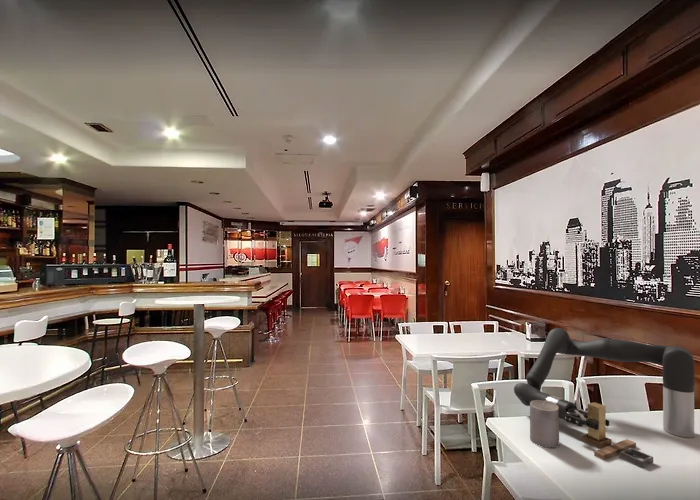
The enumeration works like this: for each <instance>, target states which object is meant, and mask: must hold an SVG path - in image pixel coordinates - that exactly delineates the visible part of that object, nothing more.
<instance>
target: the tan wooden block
mask: <svg viewBox="0 0 700 500" xmlns="http://www.w3.org/2000/svg"><path fill="white" fill-rule="evenodd" d="M587 408H588V420H590V421H593V422H595V423H598V424H599V429H598V430H596V429H593V428H591V427H588V426H587V433H588V437H589V438H591V439H593V440H596V441H598V442H602V441H605V440H606V437H607V436H606V435H607V434H606V431H607V430H606V429H607V428H606V427H607V426H606V419H607V418H606V415H607V414H606V405H604V404H601V403H598V402H595V401H594V402H590V403H588V404H587Z"/></svg>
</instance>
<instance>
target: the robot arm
mask: <svg viewBox="0 0 700 500" xmlns="http://www.w3.org/2000/svg"><path fill="white" fill-rule="evenodd" d="M557 354H559V355H567V356H583V357H584V356H585V357H588V358H596V359H603V360H607V361H615V362H622V363H653V364H658V365H662V400H663V401H662V413H663V414H662V422H663V423H662V425H663V427H662V429H663V430H664V431H665V432H667V433H669V434H671V435H674V436H678V437H682V438H687V439H690V438H694V437H695V361H694V355H693V354H692V352H691V351H689V350H688V349H687V348H685V347H682V346H677V345H676V346H675V345H657V344H656V345H655V344H647V343H646V344H645V343H640V342H635V341H630V340H622V339H616V338H608V337H602V338H597V339H596V338H595V339H592V340H587V341H586V340H585V341H584V340H575V339H571V337H570V334H569V333H568V332H567V330H565V329H564V328H560V327H556V328H553V329H551V330H550V331H549V332H548V334H547V336H546V338H545V341H544V343H543V346H542V347H541V350H540V353H539V355H538V356H537V358H536V360H535V362H534V363H533V365H532V367H531V368H530V370H529V371H528V372H527V374H526V375H525V376H526V377H525V380H526V382H519V383H516V384H515V386H514V387H513V392H514V394H515V397H517V399H518V400H519V401H520V403H521V404H523V405H524V406H526V407H530V402H531V401H533V400H543V401H548V402H551V403H554V404H556V405H557V406H558V407H559V419H561V420H562V421H563V420H564V421H565V422H567V423H570V424H572V425H575V426H578V427H587V428H588V427H591V428H593V429H596V430H598V429H599V424H598V423H595V422H593V421H590V420H588V407H587V408H586V407H585V410H584V409H582V408H578V407H577V406H576V404H575V403H573V402H572V401H569V400H567V399H564V398H561V397H558V396H554V395H552V394H548V393H545V392H543V391H541V389H542V386H543V384H544V383H545V381H546V379H547V377H548V376H549V373H550V372H551V369H552V366H553V363H554V359H555V357H556V355H557ZM606 427H610V420H609V419H607V418H606Z"/></svg>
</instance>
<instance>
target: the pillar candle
mask: <svg viewBox="0 0 700 500" xmlns="http://www.w3.org/2000/svg"><path fill="white" fill-rule="evenodd" d="M559 422H560V418H559V407H558V406H557V405H556V404H554V403H551V402H548V401H543V400H533V401H531V402H530V406H529V439H530V442H531V443H533V444H534V443H535V445H536V444H537V445H536V446H538V445H540V446H539V447H541V446H542V448H550V449H553V447H555V448H558V447H559V446H560V423H559ZM557 446H558V447H557ZM551 447H552V448H551Z"/></svg>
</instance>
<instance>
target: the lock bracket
mask: <svg viewBox="0 0 700 500" xmlns="http://www.w3.org/2000/svg"><path fill="white" fill-rule="evenodd" d="M581 441H582V442H584V443H586V444H589V445H591V446H593V447H596V448H597V450H594V451H593V453H594V454H593V455H594V457H596V458H599V459H600V460H602V461H604V460H607V459H609V458H612V457H614V456H617V455H619V458H620V459H622V460H624V461H626V462H629V463H631V464H633V465H635V466H637V467H639V468H641V469H643V468H646V467H647V466H650V465H652V464H654V456H652V455H649V454H647V453H645V452H642V451H640V450H637V449H635V448H636V447H637V442H635V441H633V440H630V439H628V438H626V439H623V440H621V441H618V442H615V443H613V444H612V439H611V438H609V437H607V436H606V440H605V441H602V442H598V441H596V440H593V439H591V438H589V437H588V432H587V433H585V434H582V435H581ZM619 453H620V454H619Z"/></svg>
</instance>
